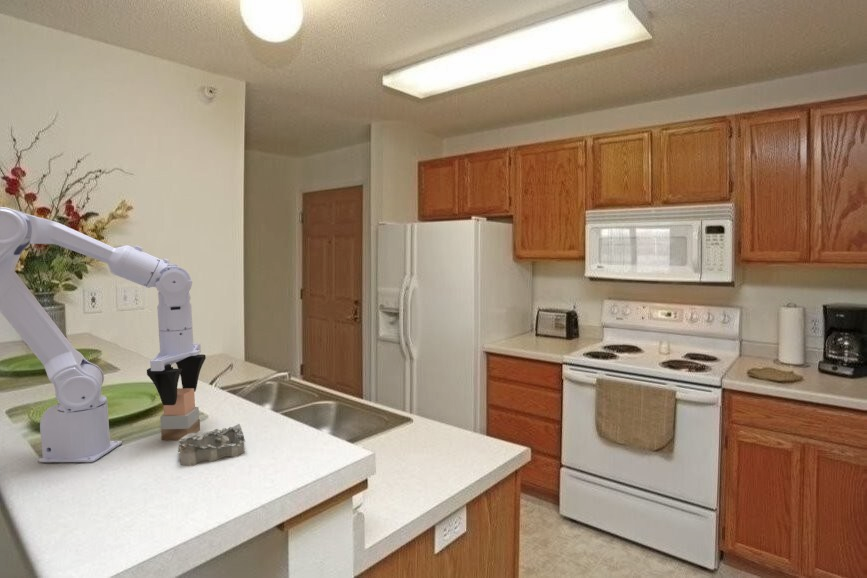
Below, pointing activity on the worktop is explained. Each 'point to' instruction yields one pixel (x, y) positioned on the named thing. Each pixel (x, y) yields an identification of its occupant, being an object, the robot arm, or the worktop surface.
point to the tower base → (179, 432)
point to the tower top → (179, 420)
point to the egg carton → (211, 445)
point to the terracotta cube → (181, 402)
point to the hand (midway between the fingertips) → (180, 398)
